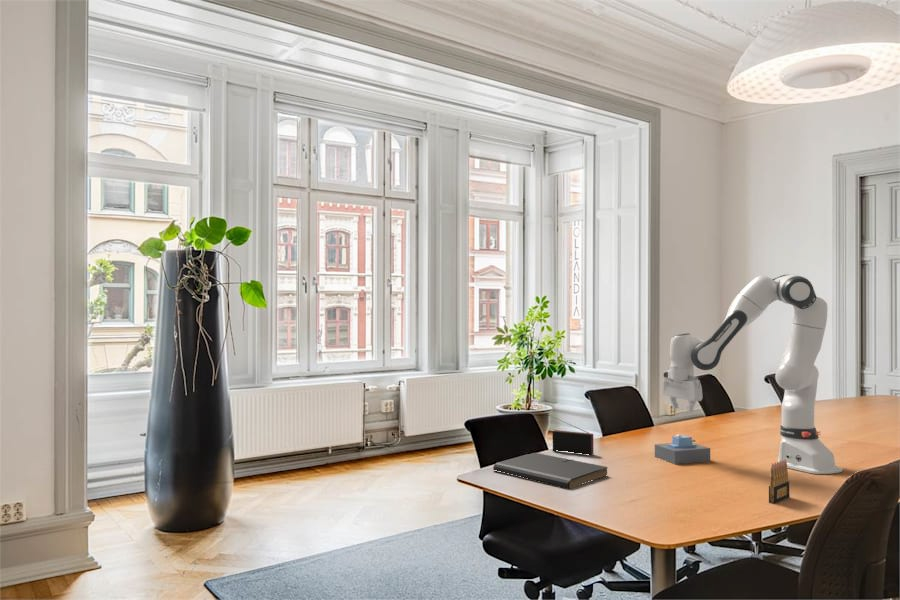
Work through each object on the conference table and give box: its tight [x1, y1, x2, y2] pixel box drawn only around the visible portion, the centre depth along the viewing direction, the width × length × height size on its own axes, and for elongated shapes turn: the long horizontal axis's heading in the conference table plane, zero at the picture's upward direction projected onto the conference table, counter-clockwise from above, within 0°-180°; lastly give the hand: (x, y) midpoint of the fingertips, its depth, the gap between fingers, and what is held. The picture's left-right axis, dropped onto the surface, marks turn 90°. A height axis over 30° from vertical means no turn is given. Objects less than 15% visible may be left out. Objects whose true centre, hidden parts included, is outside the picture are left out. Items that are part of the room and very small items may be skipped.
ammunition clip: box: [768, 459, 791, 505], centre depth 205 cm, size 11×2×12 cm, turn 131°
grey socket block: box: [654, 442, 711, 465], centre depth 261 cm, size 13×16×5 cm
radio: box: [548, 414, 595, 456], centre depth 273 cm, size 19×3×15 cm, turn 59°
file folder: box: [492, 452, 608, 490], centre depth 239 cm, size 33×4×24 cm
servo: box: [668, 434, 697, 448], centre depth 261 cm, size 4×12×9 cm, turn 107°
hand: (682, 409), depth 261 cm, fingers open, 8 cm apart
